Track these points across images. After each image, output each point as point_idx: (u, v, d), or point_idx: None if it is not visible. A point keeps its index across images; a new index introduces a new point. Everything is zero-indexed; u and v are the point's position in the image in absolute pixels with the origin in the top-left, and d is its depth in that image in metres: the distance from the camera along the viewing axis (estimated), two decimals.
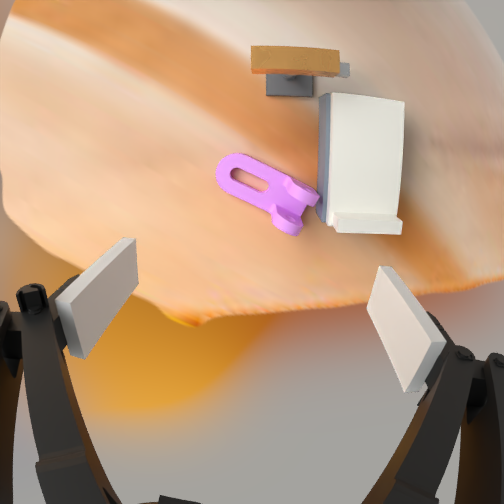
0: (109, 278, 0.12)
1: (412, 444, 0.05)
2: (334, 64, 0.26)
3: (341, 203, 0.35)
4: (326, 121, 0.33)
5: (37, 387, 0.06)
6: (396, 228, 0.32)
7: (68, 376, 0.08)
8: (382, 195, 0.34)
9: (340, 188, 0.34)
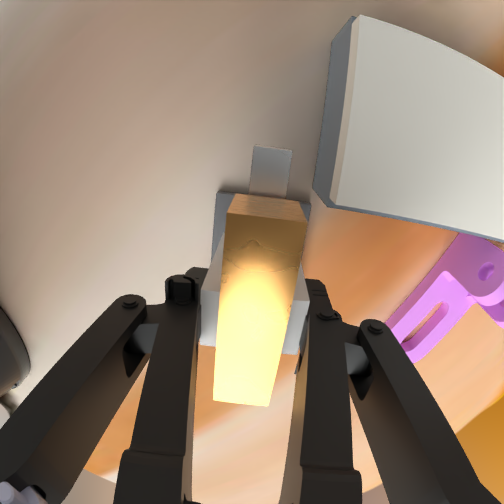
0: None
1: (303, 424, 0.06)
2: (277, 235, 0.10)
3: None
4: (390, 216, 0.15)
5: (159, 378, 0.07)
6: None
7: (195, 372, 0.10)
8: None
9: None
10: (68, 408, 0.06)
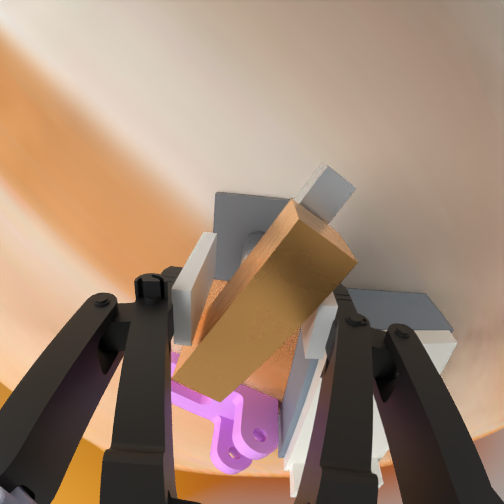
0: (205, 269, 0.14)
1: (326, 425, 0.06)
2: (328, 261, 0.10)
3: None
4: (308, 367, 0.18)
5: (133, 377, 0.07)
6: None
7: (169, 370, 0.10)
8: None
9: None
10: (49, 406, 0.05)
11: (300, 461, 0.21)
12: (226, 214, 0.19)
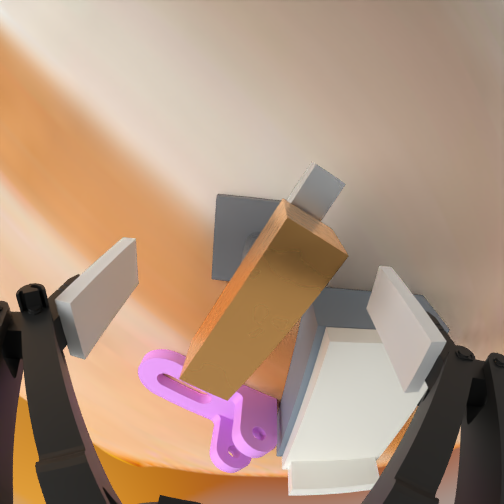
0: (109, 278, 0.12)
1: (412, 444, 0.05)
2: (319, 256, 0.10)
3: (305, 456, 0.21)
4: (306, 366, 0.19)
5: (37, 387, 0.06)
6: (369, 487, 0.19)
7: (68, 376, 0.08)
8: (366, 446, 0.21)
9: (306, 446, 0.20)
10: None
11: (298, 460, 0.21)
12: (227, 215, 0.20)
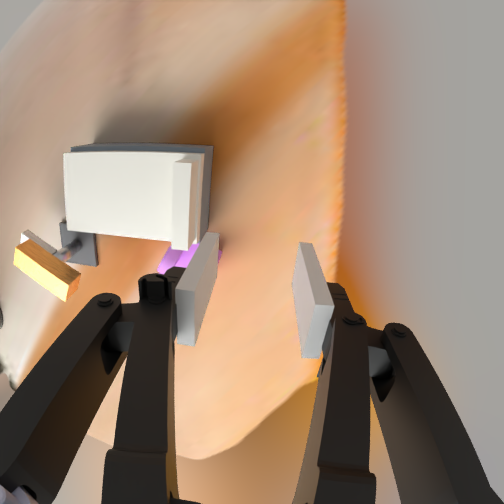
0: (208, 269, 0.14)
1: (323, 425, 0.06)
2: (17, 255, 0.28)
3: (170, 227, 0.30)
4: None
5: (137, 377, 0.07)
6: (182, 171, 0.25)
7: (173, 370, 0.10)
8: (159, 176, 0.28)
9: (153, 228, 0.30)
10: (51, 406, 0.06)
11: None
12: None
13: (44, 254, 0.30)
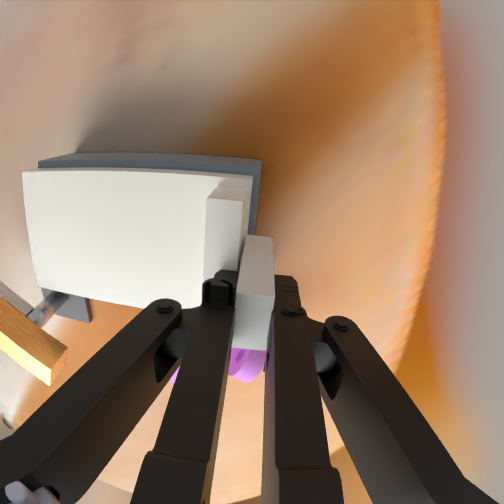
0: None
1: (275, 424, 0.06)
2: None
3: (195, 296, 0.19)
4: None
5: (189, 381, 0.07)
6: (224, 216, 0.13)
7: (226, 377, 0.10)
8: (174, 214, 0.17)
9: (167, 296, 0.19)
10: (92, 412, 0.06)
11: None
12: None
13: (14, 318, 0.19)
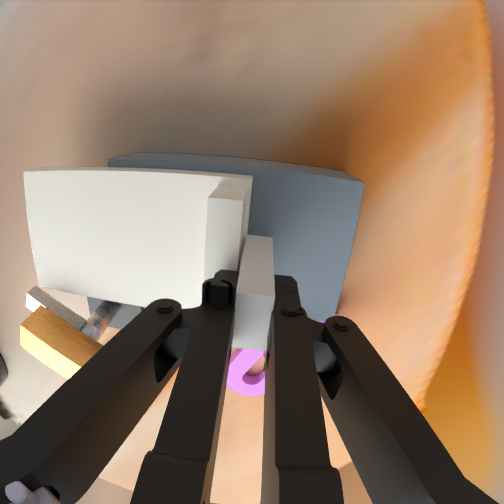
0: None
1: (275, 424, 0.06)
2: (25, 336, 0.17)
3: (195, 295, 0.19)
4: None
5: (189, 381, 0.07)
6: (225, 215, 0.14)
7: (226, 377, 0.10)
8: (175, 213, 0.17)
9: (168, 295, 0.19)
10: (92, 412, 0.06)
11: None
12: None
13: (69, 334, 0.19)
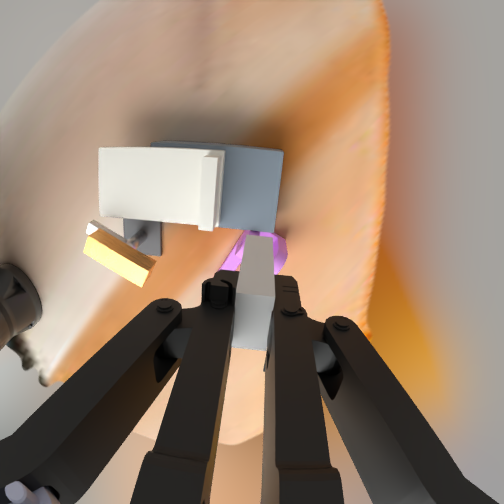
0: None
1: (275, 424, 0.06)
2: (90, 243, 0.34)
3: (195, 212, 0.36)
4: None
5: (189, 381, 0.07)
6: (209, 164, 0.30)
7: (226, 377, 0.10)
8: (187, 168, 0.34)
9: (180, 213, 0.36)
10: (92, 413, 0.06)
11: None
12: None
13: (118, 243, 0.36)
